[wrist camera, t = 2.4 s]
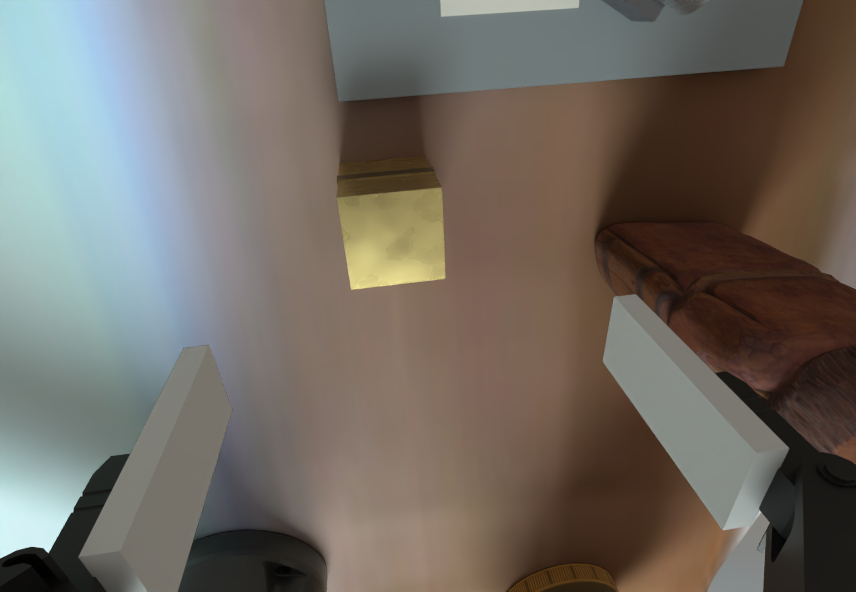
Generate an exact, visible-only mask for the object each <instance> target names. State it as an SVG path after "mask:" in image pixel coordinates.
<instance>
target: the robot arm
mask: <svg viewBox="0 0 856 592" xmlns="http://www.w3.org/2000/svg"><path fill="white" fill-rule="evenodd" d="M603 363H604V364H605V365H606V367H607V368H608V370H609V371H610V372H611V374H612V375H613V377H614V378H615V379H616V381H617V382H618V384H619V385H620V387H621V388H622V389H623V391H624V392H625V394H626V395H627V396H628V398H629V399H630V401H631V402H632V403H633V405H634V406H635V408H636V409H637V410H638V412H639V413H640V415H641V416H642V417H643V419H644V420H645V422H646V423H647V424H648V426H649V427H650V429H651V430H652V432H653V433H654V434H655V436H656V437H657V439H658V440H659V441H660V443H661V444H662V446H663V447H664V448H665V450H666V451H667V453H668V454H669V455H670V457H671V458H672V460H673V461H674V462H675V464H676V465H677V467H678V468H679V470H680V471H681V472H682V474H683V475H684V477H685V478H686V479H687V481H688V482H689V484H690V485H691V486H692V488H693V489H694V491H695V492H696V493H697V495H698V496H699V498H700V499H701V500H702V502H703V503H704V505H705V506H706V508H707V509H708V510H709V512H710V513H711V515H712V516H713V517H714V519H715V520H716V522H717V523H718V524H719V526H720V527H721V529H722V530H727V529H733V528H739V527H745V526H751V525H752V524H753V522H754V520H755V518H756V516H757V514H758V512H759V510H760V511H761V512H762V513H763V515H764V516H765V517H766V518H767V519H768V521H769V522H770V524H769V526H768V528H767V530H766V532H765V534H764V535H763V537H762V540H761V541H760V543H759V546H758V548H757V551H759V552H763V550H764V548H765V567H764V590H763V592H856V464H854V463H853V462H851V461H850V460H847V459H845V458H843V457H840V456H838V455H835V454H830V453H825V452H819V451H818V450H816V449H815V448H814V447H813V446H812V445H811V444H810V443H809V442H808V441H807V440H806V439H805V438H804V437H803V436H802V435H801V434H799V433H798V432H797V431H796V430H795V429H794V428H793V427H792V426H791V425H790V424H789V423H788V422H787V421H786V420H785V419H784V418H783V417H782V416H781V415H779V414H778V413H777V412H776V411H775V410H772V408H771V406H770V405H769V404H768V403H767V402H766V401H765V400H764V399H761V398H760V396H759V395H758V394H757V393H756V392H755V391H754V390H753V389H752V388H751V387H750V386H749V385H748V384H747V383H746V382H744V381H742V380H741V379H739V378H737V377H735V376H734V375H732V374H730V373H728V372H727V371H724V372H717V373H714V372H713V371H712V370H711V369H710V368H709V367H708V366H707V365H706V364H705V363H704V362H703V361H702V360H701V359H700V358H699V357H698V356H697V355H696V354H695V353H694V352H693V351H692V350H691V349H690V348H689V347H688V346H687V345H686V344H685V343H684V342H683V341H682V340H681V339H680V338H679V337H678V336H677V335H676V334H675V333H674V332H673V331H672V330H671V329H670V328H669V327H668V326H667V325H666V324H665V323H664V322H663V321H662V320H661V319H660V318H659V317H658V316H657V315H656V314H655V313H654V312H653V311H652V310H651V309H650V308H649V307H648V306H647V305H646V304H645V303H644V302H643V301H642V300H641V299H640V298H639V297H638V296H637V295H636V294H633V295H625V296H616V297H614V299H613V305H612V311H611V317H610V323H609V328H608V334H607V340H606V346H605V351H604V357H603ZM231 413H232V407H231V405H230V402H229V399H228V396H227V394H226V391H225V388H224V385H223V382H222V380H221V377H220V374H219V371H218V369H217V366H216V363H215V360H214V358H213V355H212V352H211V349H210V346H209V345H205V346H197V347H188V348H183V350H182V352H181V354H180V356H179V358H178V360H177V362H176V364H175V366H174V368H173V370H172V372H171V374H170V376H169V378H168V380H167V382H166V384H165V386H164V388H163V390H162V392H161V394H160V396H159V398H158V400H157V402H156V404H155V406H154V408H153V410H152V412H151V414H150V416H149V418H148V420H147V421H146V423H145V425H144V427H143V429H142V431H141V433H140V435H139V437H138V439H137V441H136V443H135V445H134V447H133V449H132V451H131V453H130V454H124V455H116V456H111V457H110V458H109V459H108V460H107V461H106V462H105V463H104V464H103V465H102V466H101V467H100V468H99V469H98V470H97V471H96V472H95V473H94V474H93V475H92V477H91V479H90V480H89V482H88V484H87V486H86V488H85V489H84V491H83V493H82V494H83V496H82V497H80V498H79V500H78V502H77V504H76V505H75V507H74V512H73V513H71V514H70V516H69V518H68V520H67V521H66V523H65V525H64V527H63V529H62V530H61V532H60V534H59V536H58V537H57V539H56V541H55V543H54V545H53V546H52V548H51V550H50V552H49V554H48V553H47V552H46V551H45V550H44V549H43V548H37V547H29V548H25V549H21V550H17V551H15V552H13V553H11V554H9V555H7V556H5V557H3V558H1V559H0V592H327V567H326V564H325V562H324V560H323V559H322V557H321V556H320V555H319V554H318V553H317V552H316V551H315V550H314V549H313V548H311V547H310V546H308V545H307V544H305V543H303V542H301V541H299V540H297V539H294V538H291V537H288V536H285V535H281V534H277V533H271V532H263V531H235V532H226V533H221V534H216V535H212V536H208V537H205V538H202V539H199V540H197V541H194V542H193V539H194V536H195V532H196V529H197V526H198V523H199V519H200V516H201V513H202V509H203V506H204V503H205V499H206V496H207V493H208V489H209V486H210V483H211V480H212V476H213V473H214V470H215V466H216V463H217V460H218V456H219V453H220V450H221V446H222V443H223V440H224V436H225V433H226V430H227V427H228V423H229V420H230V417H231ZM765 546H766V547H765Z"/></svg>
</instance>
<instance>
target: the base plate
mask: <svg viewBox="0 0 856 592" xmlns="http://www.w3.org/2000/svg"><path fill="white" fill-rule="evenodd" d="M324 2H325V9H326V16H327V23H328V30H329V37H330V45H331V52H332V59H333V66H334V73H335V80H336V87H337V94H338V101H339V102H341V101H354V100H366V99H379V98H391V97H404V96H417V95H429V94H442V93H454V92H467V91H480V90H492V89H505V88H517V87H530V86H542V85H555V84H568V83H580V82H593V81H605V80H618V79H630V78H643V77H656V76H668V75H681V74H693V73H706V72H719V71H731V70H744V69H756V68H769V67H781V66H784V64H785V61H786V57H787V54H788V51H789V47H790V44H791V41H792V37H793V34H794V30H795V27H796V24H797V20H798V17H799V14H800V10H801V7H802V3H803V0H708V1H707V2H706V3H705V4H704V5H703V6H701V7H700V8H699V9H697V10H696V11H694V12H692V13H690V14H687V15H678V14H677V13H676V12H674V11H673V10H671V9H670V8H669V7H667V6H666V5H665V6H664V7H663V9H662V11H661V12H660V14H659V15H658V17H657V19H656V20H655V22H640V21H630V20H629V19H628V18H626V17H625V16H623V15H622V14H620V13H619V12H618V11H616V10H615V9H613V8H612V7H610V6H609V5H608V4H606V3H605V2H603V1H602V0H324Z"/></svg>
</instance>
